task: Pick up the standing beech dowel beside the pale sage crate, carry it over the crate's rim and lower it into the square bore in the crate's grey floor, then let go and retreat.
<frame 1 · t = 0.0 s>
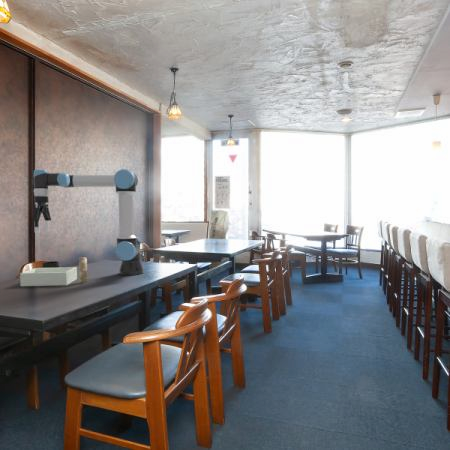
hand: (42, 232, 219), 28 cm above the table, fingers open, 13 cm apart
crate: (50, 282, 209), on the table
dowel: (83, 282, 209), on the table
mug: (52, 277, 226), on the table
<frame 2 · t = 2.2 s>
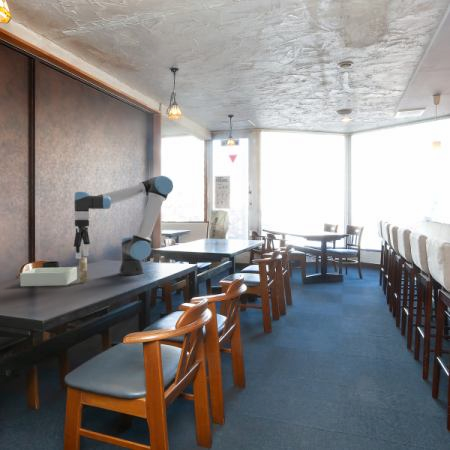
hand: (82, 257, 208), 14 cm above the table, fingers open, 13 cm apart
nothing on the table moved.
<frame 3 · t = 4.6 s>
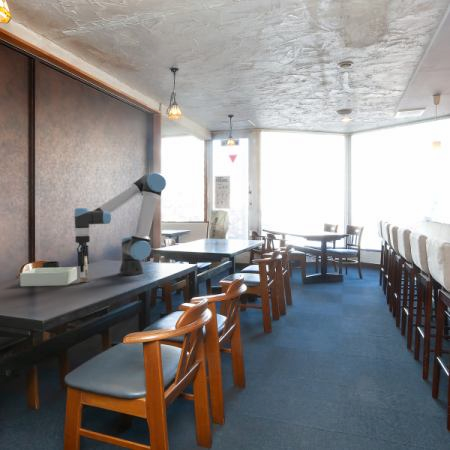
hand: (83, 276, 209), 3 cm above the table, fingers closed on dowel, 4 cm apart
dowel: (84, 281, 209), point 1 cm above the table, touching gripper
everything else where it was.
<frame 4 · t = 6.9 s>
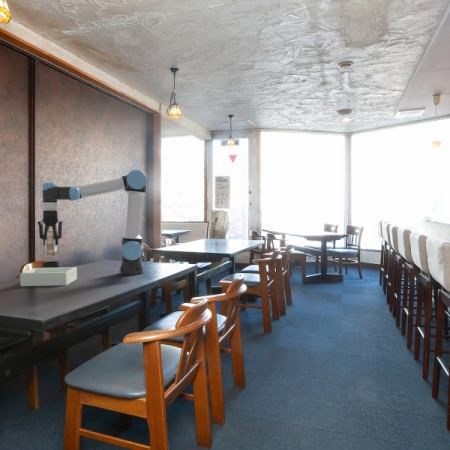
hand: (51, 251, 212), 18 cm above the table, fingers closed on dowel, 4 cm apart
dowel: (51, 255, 212), point 15 cm above the table, touching gripper
everything else where it was.
when the fingers open (4 cm above the table, at t = 9.7 s): dowel stays where it is, resting in crate.
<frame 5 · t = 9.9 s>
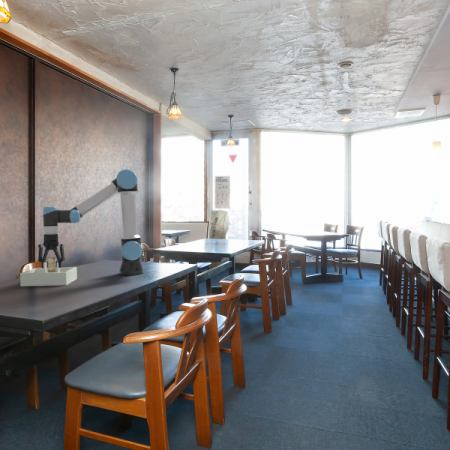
hand: (52, 273, 212), 4 cm above the table, fingers open, 7 cm apart
dowel: (52, 281, 212), resting in crate
everything else where it was.
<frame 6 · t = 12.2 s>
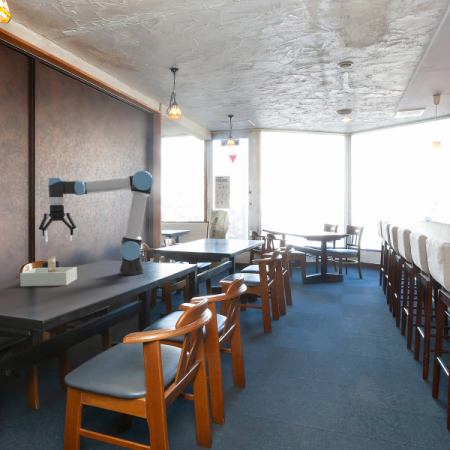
hand: (58, 241, 214), 23 cm above the table, fingers open, 13 cm apart
nothing on the table moved.
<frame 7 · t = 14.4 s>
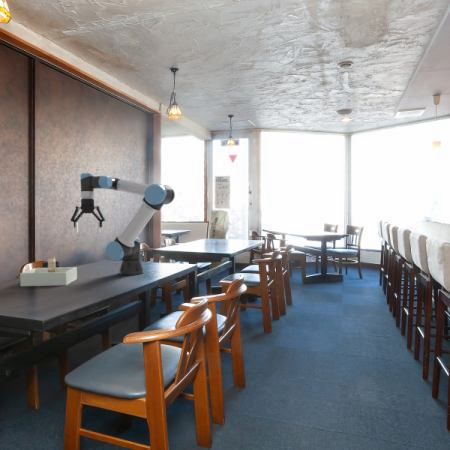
hand: (88, 232, 229), 27 cm above the table, fingers open, 13 cm apart
nothing on the table moved.
at the end: dowel 0.0 cm from the target spot on the crate, point 0.0 cm above the crate's base; dowel tilted 0°; the gripper is holding nothing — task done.
